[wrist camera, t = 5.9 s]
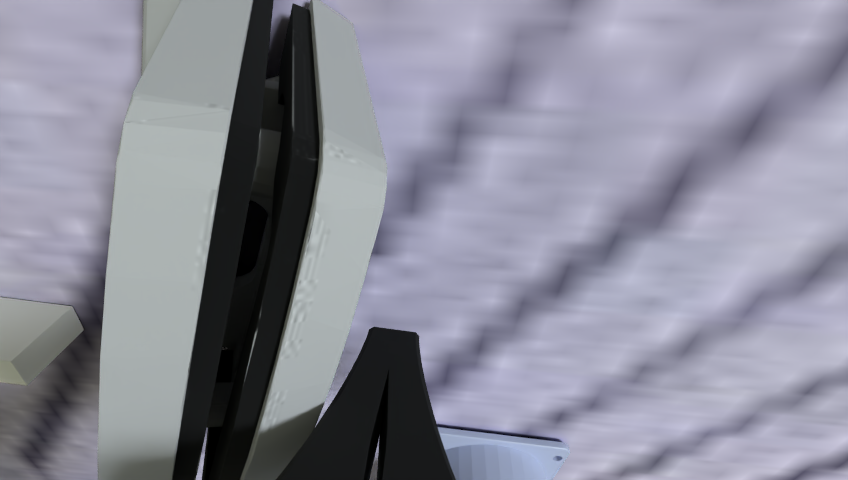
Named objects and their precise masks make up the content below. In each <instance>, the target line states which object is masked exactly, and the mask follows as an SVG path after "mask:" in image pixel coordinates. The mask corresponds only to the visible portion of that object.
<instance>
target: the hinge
mask: <svg viewBox="0 0 848 480" xmlns="http://www.w3.org/2000/svg"><path fill="white" fill-rule="evenodd" d="M272 9H273V0H143V37H142V77H141V78H140V80H139V82H138V84H137V86H136V88H135V90H134V92H133V95H132V98H131V101H130V104H129V108H128V111H127V114H126V117H125V120H124V124H123V130H122V135H121V140H120V145H119V150H118V156H117V161H116V171H115V182H114V193H113V204H112V215H111V227H110V238H109V249H108V260H107V271H106V284H105V298H104V312H103V326H102V340H101V354H100V382H99V418H98V480H195V479H196V475H197V471H198V466H199V461H200V457H201V452H202V447H203V442H204V437H205V432H206V428H207V427H208V433H207V441H206V449H205V458H204V466H203V474H202V480H276V479H277V477H278V476H279V475H280V474H281V473H282V471H283V470H284V469H285V468H286V466H287V465H288V464H289V462H290V461H291V460H292V458H293V457H294V456H295V454H296V453H297V452H298V451H299V449H300V448H301V447H302V445H303V444H304V442H305V441H306V440H307V438H308V437H309V436H310V434H311V433H312V431H313V430H314V428H315V426H316V423H317V420H318V418H319V415H320V413H321V410H322V408H323V405H324V402H325V400H326V397H327V395H328V392H329V389H330V387H331V384H332V382H333V379H334V376H335V373H336V370H337V367H338V364H339V361H340V358H341V355H342V352H343V349H344V346H345V343H346V340H347V337H348V334H349V331H350V327H351V324H352V320H353V317H354V313H355V310H356V307H357V303H358V300H359V296H360V293H361V289H362V286H363V283H364V279H365V276H366V272H367V268H368V265H369V261H370V257H371V254H372V250H373V246H374V243H375V239H376V235H377V232H378V228H379V225H380V221H381V217H382V214H383V210H384V203H385V196H386V189H387V164H386V159H385V155H384V151H383V147H382V143H381V138H380V134H379V130H378V126H377V122H376V118H375V113H374V109H373V105H372V101H371V97H370V93H369V88H368V84H367V80H366V76H365V72H364V68H363V63H362V59H361V55H360V51H359V47H358V43H357V39H356V34H355V30H354V26H353V23H351V22H350V21H349V20H347V19H346V18H344V17H343V16H341V15H340V14H339V13H337V12H336V11H334V10H333V9H331V8H330V7H328V6H327V5H326V4H324V3H323V2H321V1H320V0H311V1H310V5H309V9H306V8H303V7H301V6H298V5H296V4H293V5H292V10H291V15H290V20H289V24H288V29H287V34H286V39H285V44H284V48H283V53H282V58H281V63H280V69H279V76H276V77H273V78H270V79H266V70H267V60H268V50H269V40H270V30H271V19H272ZM250 200H251V201H254V202H257V203H258V204H259V205H261V206H262V207H263V208H264V209H265V210H266V212H267V214H268V218H267V222H266V226H265V230H264V234H263V238H262V242H261V246H260V250H259V254H258V258H257V262H256V266H255V267H254V269H253V270H252V271H251V272H250V273H248V274H245V275H243V276H239V277H236V272H237V267H238V261H239V256H240V250H241V245H242V239H243V234H244V228H245V223H246V217H247V212H248V206H249V201H250ZM222 347H228V350H222Z"/></svg>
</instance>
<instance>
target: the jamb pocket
mask: <svg viewBox="0 0 848 480" xmlns="http://www.w3.org/2000/svg"><path fill="white" fill-rule="evenodd" d="M83 330H84V329H83V327H82V325H81V323H80V321H79V319H78V317H77V315H76V313H75V311H74V309H73V307H72V306H65V305H58V304H50V303H42V302H34V301H27V300H19V299H11V298H3V297H0V382H1V383H10V384H18V385H26V386H28V385H29V384H30V383H31V382H32V381H33V380H34V379H35V378H36V377H37V376H38V375H39V374H40V373H41V372H42V371H43V370H44V369H45V368H46V367H47V366H48V365H49V364H50V363H51V362H52V361H53V360H54V359H55V358H56V357H57V356H58V355H59V354H60V353H61V352H62V351H63V350H64V349H65V348H66V347H67V346H68V345H69V344H70V343H71V342H72V341H73V340H74V339H75V338H76V337H77V336H78V335H79V334H80V333H81V332H82V331H83Z"/></svg>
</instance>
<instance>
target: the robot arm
mask: <svg viewBox="0 0 848 480" xmlns="http://www.w3.org/2000/svg"><path fill="white" fill-rule="evenodd" d="M379 435H380V438H379ZM378 439H379V455H378V472H377V480H552V479H553V478H554V476H555V475H556V473H557V472H558V470H559V469H560V467H561V466H562V464H563V463H564V461H565V460H566V458H567V457H568V455H569V453H570V451H569V447H568V445H567V444H566V443H563V442H557V441H548V440H540V439H532V438H524V437H516V436H507V435H499V434H491V433H483V432H475V431H466V430H458V429H450V428H442V427H437V424H436V421H435V417H434V414H433V410H432V407H431V403H430V399H429V395H428V391H427V387H426V383H425V378H424V373H423V368H422V363H421V356H420V348H419V336H418V335H417V333H416V332H409V331H401V330H394V329H386V328H379V327H373V328H371V329H369V332H368V335H367V338H366V340H365V343H364V345H363V347H362V350H361V352H360V354H359V356H358V358H357V360H356V362H355V364H354V365H353V367H352V369H351V371H350V373H349V375H348V376H347V378H346V380H345V381H344V383H343V385H342V387H341V388H340V390H339V392H338V393H337V395H336V397H335V398H334V400H333V401H332V403H331V404H330V406H329V407H328V409H327V410H326V412H325V413H324V415H323V416H322V418H321V420H320V421H319V423H318V424H317V426H316V427H315V428H314V430H313V431H312V433H311V434H310V436H309V437H308V438H307V440H306V441H305V442H304V444H303V445H302V447H301V448H300V449H299V451H298V452H297V453H296V454H295V456H294V457H293V458H292V460H291V461H290V462H289V464H288V465H287V466H286V468H285V469H284V470H283V471H282V473H281V474H280V475H279V476H278V477H277V479H276V480H369V478H370V474H371V470H372V465H373V461H374V457H375V452H376V448H377V444H378Z"/></svg>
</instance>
